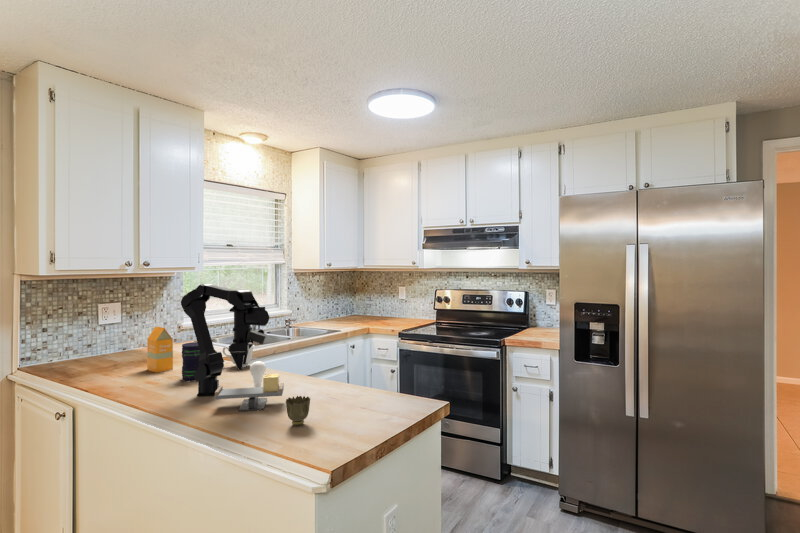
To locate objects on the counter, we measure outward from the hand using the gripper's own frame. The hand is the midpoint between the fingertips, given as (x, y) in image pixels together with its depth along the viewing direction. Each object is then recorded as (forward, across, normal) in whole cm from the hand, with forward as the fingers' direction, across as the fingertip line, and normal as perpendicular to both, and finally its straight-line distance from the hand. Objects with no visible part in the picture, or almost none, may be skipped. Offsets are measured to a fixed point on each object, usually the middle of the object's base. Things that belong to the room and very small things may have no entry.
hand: (242, 366), depth 162 cm
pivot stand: (+12, -8, -5) cm, 15 cm away
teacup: (+12, +55, +10) cm, 57 cm away
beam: (+8, -8, -5) cm, 12 cm away
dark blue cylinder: (+12, +35, +25) cm, 45 cm away
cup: (+12, -30, -21) cm, 39 cm away
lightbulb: (+12, +13, -4) cm, 18 cm away
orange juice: (+12, +55, +45) cm, 72 cm away
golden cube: (+7, -8, -11) cm, 15 cm away
